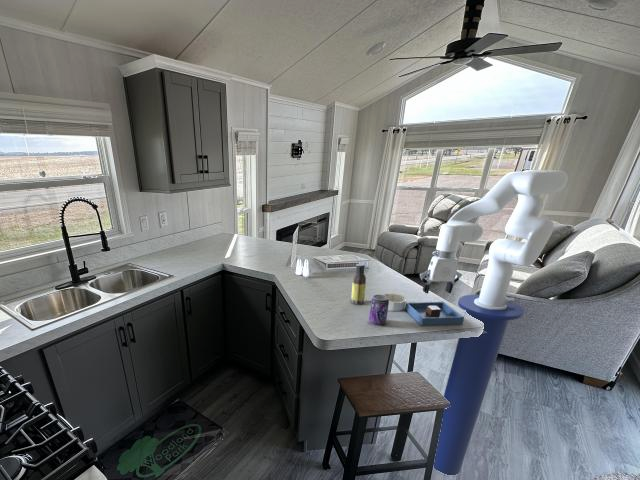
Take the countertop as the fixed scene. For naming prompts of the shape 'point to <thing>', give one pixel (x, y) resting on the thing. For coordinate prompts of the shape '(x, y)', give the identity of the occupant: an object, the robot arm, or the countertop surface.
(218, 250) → the countertop surface
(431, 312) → the block
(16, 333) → the countertop surface
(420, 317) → the tub
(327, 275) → the countertop surface
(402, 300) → the white round bowl
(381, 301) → the beverage can
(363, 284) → the sauce bottle
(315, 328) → the countertop surface
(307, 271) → the shaker set
